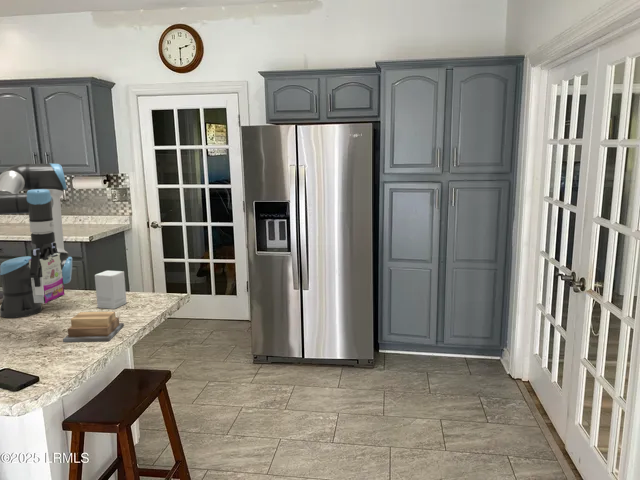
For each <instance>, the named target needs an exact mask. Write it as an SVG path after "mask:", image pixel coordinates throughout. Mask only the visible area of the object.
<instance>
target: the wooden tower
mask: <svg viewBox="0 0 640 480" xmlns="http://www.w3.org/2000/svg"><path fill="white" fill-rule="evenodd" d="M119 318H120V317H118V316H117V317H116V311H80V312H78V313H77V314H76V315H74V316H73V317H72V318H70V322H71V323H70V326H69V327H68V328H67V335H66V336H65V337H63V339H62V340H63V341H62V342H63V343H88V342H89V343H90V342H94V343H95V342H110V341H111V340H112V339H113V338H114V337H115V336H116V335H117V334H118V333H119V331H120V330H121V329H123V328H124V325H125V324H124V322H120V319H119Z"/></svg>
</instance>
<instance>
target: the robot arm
mask: <svg viewBox="0 0 640 480" xmlns="http://www.w3.org/2000/svg"><path fill="white" fill-rule="evenodd" d="M66 182H67V181H66V177H65V173H64V169H63V167H62V165H61V164H60V163H51V162H48V163H19V164H15V165H12V166H9V167H8V168H6V169H5V170H3V171H2V172H1V173H0V215H1V216H2V215H17V214H28V219H29V221H28V222H29V231H30V240H31V244H32V245H35V248H34V249H31V250H30V254H31V256H29V255H27V256H19V257H15V258H10V259H7V260H5V261H3V262H2V263H0V279H1V288H2V296H3V297H2V301H1V304H0V317H2V318H7V319H9V318H10V319H16V318H24V317H28V316H32V315H36V314H38V313H40V312H42V309H43V307H42V304H40V303H34V300H33V292H32V284H31V278H34V286H35V295H44V287H43V277H41V274H42V266H41V268H39V263H40V259H46V258H47V256H49V255H50V254H51V255H53V254H54V253H59V254H60V258H61V267H62V276H63V284H64V285H65V284H69V283H70V282H71V280H72V274H73V257H72V256H69V252H68V251H66V250H65V245H64V233H63V231H64V230H63V228H64V227H63V218H62V203H61V197H62V196H63V195H64V194H65V193H64V191H65V190H67V189H68V187H67V183H66ZM21 191H26V192H21ZM20 192H21V193H20ZM30 259H31V265H30V268H29V261H28V260H30Z"/></svg>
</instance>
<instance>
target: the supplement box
mask: <svg viewBox="0 0 640 480" xmlns="http://www.w3.org/2000/svg"><path fill="white" fill-rule="evenodd" d="M125 280H126V278H125V271H124V270H123V271H121V270H104V271H102V272H99V273H96V274H94V283H95V293H96V295H95V296H96V304H97V305H96V306H97V308H99V309H109V310H110V309H111V310H112V309H113V310H115V309H117V308H119V307H121V306H124V305H126V304H127V293H126V281H125Z"/></svg>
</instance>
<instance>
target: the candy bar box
mask: <svg viewBox="0 0 640 480" xmlns="http://www.w3.org/2000/svg"><path fill="white" fill-rule="evenodd" d="M28 261H29V268H30V265H31V259H30V260H28ZM41 266H42V274H41V277H43V287H44V295H35V286H34V278H31V284H32V292H33V300H34V303H40V304H41V305H42V304H44V305H45V304H48V303H50V302H52V301H54V300H56V299H58V298H60V297H63V296H65V286H64V285H65V284H63V276H62V267H61V258H60V254H59V253H54V254H53V255H51V254H50V255H49V256H47V258H46V259H40V263H39V268H41Z"/></svg>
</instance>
